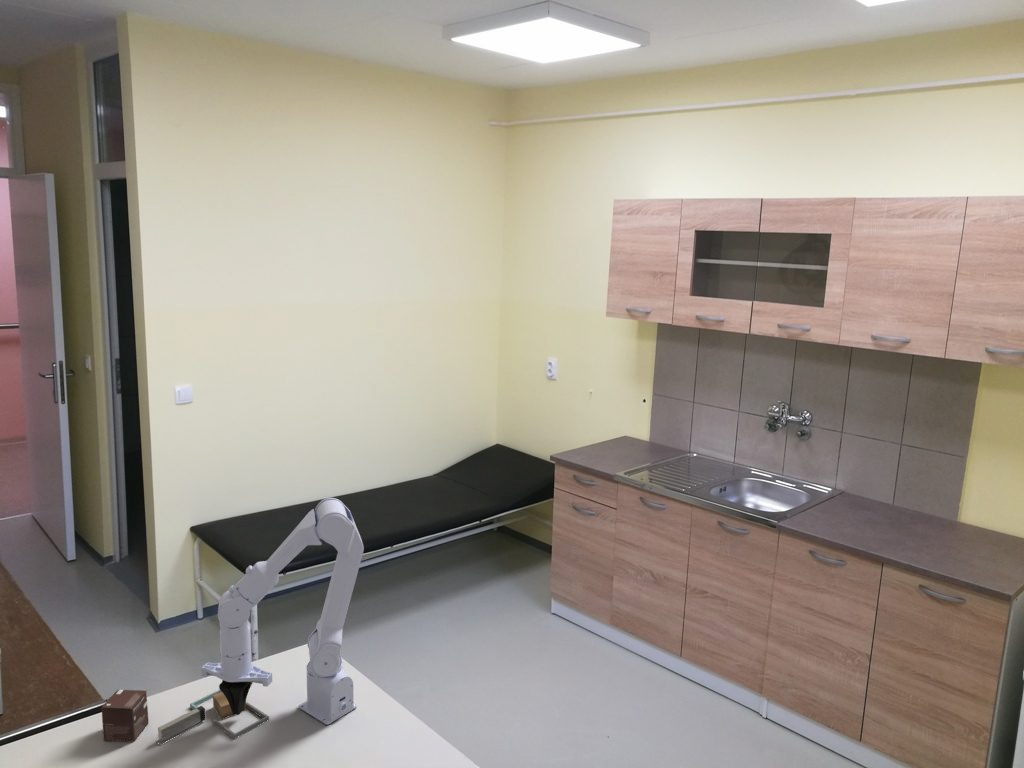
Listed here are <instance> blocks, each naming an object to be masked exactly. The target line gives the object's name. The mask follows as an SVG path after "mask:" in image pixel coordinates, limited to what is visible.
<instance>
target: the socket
mask: <svg viewBox="0 0 1024 768" xmlns="http://www.w3.org/2000/svg"><path fill="white" fill-rule="evenodd" d="M246 709H248V710H250V711H252V712H254V714H256V713H257V714H256V715H258V716H259V715H260V716H259V717H260V718H261V719H259V720H257V721H255V722H253V723H251V724H250V725H248V726H246V727H245V728H243V729H241V730H239V731H236V732H234V731H233V730H231V729H230V728H228V727H226V726H225V725H224V724H222V723H221V722H219V721H218V720H217V719H213V720H212V722H213V723H212V724H213V725H214V724H215V726H216V727H217V726H218V727H219V729H220V730H221V729H222V732H224V731H225V732H224V733H226V735H228V734H229V735H228V736H230V737H231V736H232V737H231V738H232V739H235V738H236V739H237V738H239V737H241V736H243V735H245V734H246V733H248V732H249V731H252V730H253V728H254V729H255V728H257V727H258V725H259V726H261V725H262V723H263V722H264V723H266V722H268V721H270V716H269V715H268V714H266V713H264V712H263V711H261V709H258V708H257V707H255V706H254V705H252V704H251V703H249V702H247V701H246ZM262 717H263V718H262ZM267 720H268V721H267ZM202 723H203V724H204V720H203V721H201V722H199V723H197V724H195V725H193V726H191V727H189V728H187V729H185V730H183V731H181V732H179V733H177V734H175V735H173V736H172V737H170V738H168V739H166V740H164V741H161V740H159V739H157V740H155V743H156V742H157V743H159V746H162V745H163V743H164V744H165V742H166V741H168V740H170V739H172V738H174V737H176V736H178V735H179V736H181V735H183V734H185V733H187V732H189V731H191V730H193V729H195V728H196V726H197V727H199V726H200V725H202ZM264 723H263V724H264ZM260 724H261V725H260ZM198 725H199V726H198ZM194 727H195V728H194ZM218 727H217V728H218ZM192 728H193V729H192ZM190 729H191V730H190ZM251 729H252V730H251ZM188 730H189V731H188ZM186 731H187V732H186ZM184 732H185V733H184ZM182 733H183V734H182ZM180 734H181V735H180ZM242 734H243V735H242ZM179 736H178V737H179ZM238 736H239V737H238ZM176 738H177V737H176ZM174 739H175V738H174ZM172 740H173V739H172ZM170 741H171V740H170ZM168 742H169V741H168ZM157 743H156V744H157ZM166 743H167V742H166ZM161 744H162V745H161Z"/></svg>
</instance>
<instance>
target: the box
mask: <svg viewBox="0 0 1024 768" xmlns="http://www.w3.org/2000/svg"><path fill="white" fill-rule="evenodd" d="M147 696H148V695H147V690H142V689H141V690H137V689H136V690H133V689H131V690H130V689H117V690H116V691H115V692H114V693H113V694H112V695H111V696H110V697H109V698H108V699H107V701H106V702H104V704H103V705H102V706H101V719H102V731H103V732H102V733H103V741H105V742H128V743H132V742H133V743H134V742H135V741H136V740H137V739H138V738H137V737H140V735H141V734H142V733H143V731H145V730H146V728H147V726H148V725H149V712H148V711H149V710H148V708H149V707H148V697H147ZM145 727H146V728H145ZM141 732H142V733H141Z"/></svg>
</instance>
